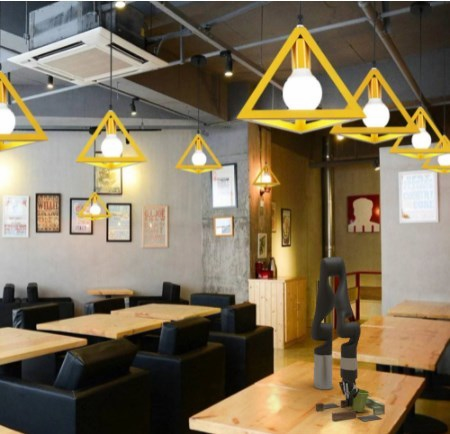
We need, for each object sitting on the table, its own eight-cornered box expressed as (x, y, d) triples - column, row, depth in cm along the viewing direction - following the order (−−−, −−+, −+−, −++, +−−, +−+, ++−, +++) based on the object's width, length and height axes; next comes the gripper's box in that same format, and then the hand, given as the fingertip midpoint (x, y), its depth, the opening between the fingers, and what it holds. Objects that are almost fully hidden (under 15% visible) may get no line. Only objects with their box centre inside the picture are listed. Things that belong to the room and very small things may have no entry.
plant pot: (342, 406, 237) (344, 387, 237) (359, 407, 240) (361, 387, 241) (354, 413, 228) (356, 393, 228) (372, 413, 231) (374, 393, 232)
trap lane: (310, 406, 240) (310, 398, 240) (357, 400, 249) (357, 391, 249) (340, 425, 216) (340, 415, 217) (392, 417, 226) (392, 408, 226)
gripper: (333, 364, 238) (333, 402, 237) (350, 371, 226) (350, 411, 225) (347, 363, 241) (347, 401, 240) (364, 369, 228) (365, 409, 228)
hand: (349, 406), depth 232 cm, fingers closed
